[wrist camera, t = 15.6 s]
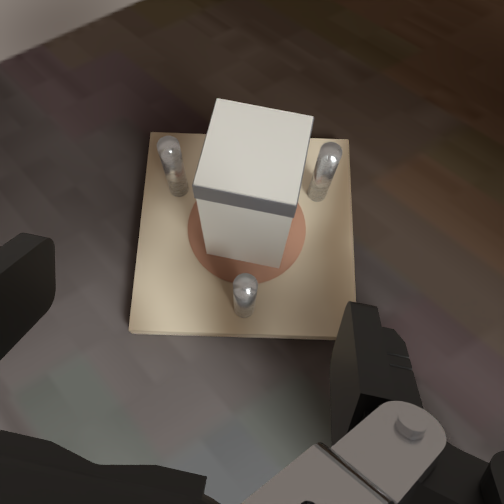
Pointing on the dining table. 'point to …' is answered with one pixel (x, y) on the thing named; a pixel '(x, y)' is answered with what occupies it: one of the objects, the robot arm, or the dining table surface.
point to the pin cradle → (235, 271)
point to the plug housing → (250, 180)
